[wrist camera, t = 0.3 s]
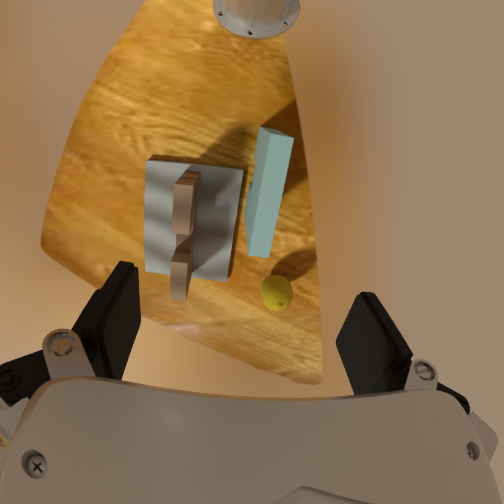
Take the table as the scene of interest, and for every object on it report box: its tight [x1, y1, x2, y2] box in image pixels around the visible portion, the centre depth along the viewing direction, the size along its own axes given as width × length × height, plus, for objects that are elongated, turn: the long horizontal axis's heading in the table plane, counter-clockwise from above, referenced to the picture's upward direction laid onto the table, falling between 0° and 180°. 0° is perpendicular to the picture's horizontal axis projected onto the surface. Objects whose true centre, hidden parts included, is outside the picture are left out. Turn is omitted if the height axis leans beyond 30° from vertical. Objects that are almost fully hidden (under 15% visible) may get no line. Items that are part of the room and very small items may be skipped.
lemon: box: [261, 274, 293, 311], centre depth 48 cm, size 6×6×8 cm
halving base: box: [144, 160, 244, 301], centre depth 41 cm, size 20×15×9 cm
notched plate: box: [245, 127, 294, 258], centre depth 35 cm, size 14×2×14 cm, turn 171°
